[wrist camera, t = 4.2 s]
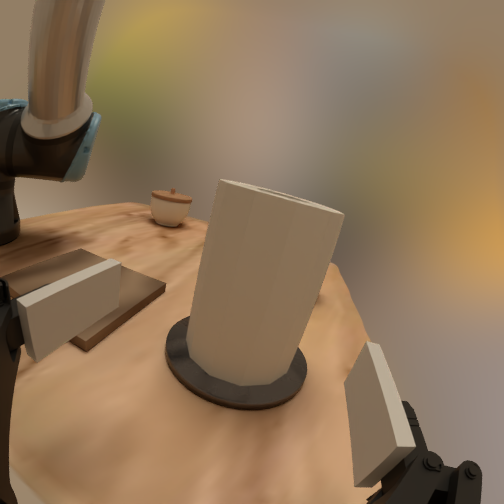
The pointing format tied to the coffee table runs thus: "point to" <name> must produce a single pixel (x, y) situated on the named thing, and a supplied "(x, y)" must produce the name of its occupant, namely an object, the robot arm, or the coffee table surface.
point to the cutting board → (131, 282)
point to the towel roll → (258, 281)
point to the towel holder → (226, 391)
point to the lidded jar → (169, 207)
